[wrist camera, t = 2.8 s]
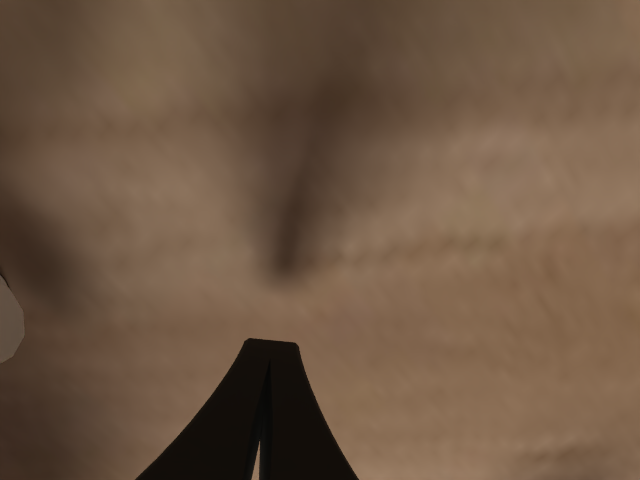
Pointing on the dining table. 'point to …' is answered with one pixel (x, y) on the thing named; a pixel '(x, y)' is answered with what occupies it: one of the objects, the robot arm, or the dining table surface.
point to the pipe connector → (9, 322)
